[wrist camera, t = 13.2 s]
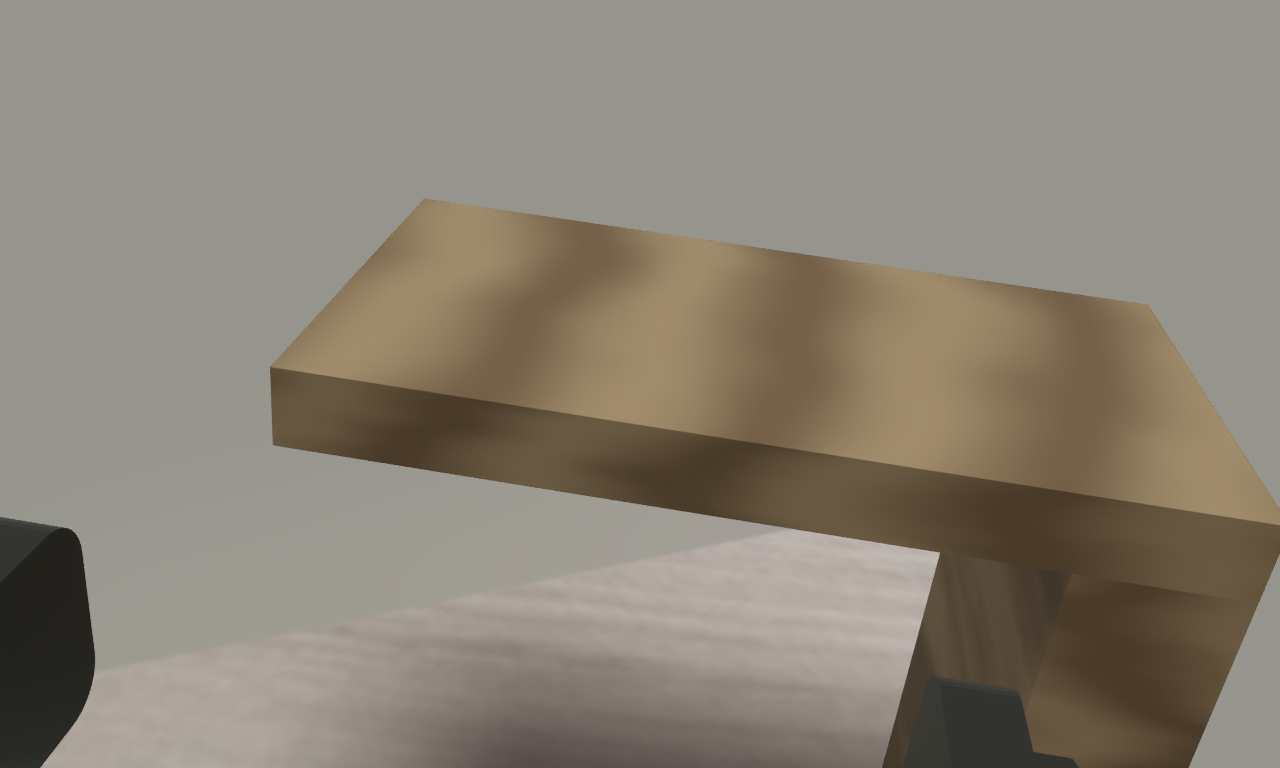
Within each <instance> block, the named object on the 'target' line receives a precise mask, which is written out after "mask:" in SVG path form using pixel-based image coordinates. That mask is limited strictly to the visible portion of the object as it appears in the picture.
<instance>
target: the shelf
mask: <svg viewBox="0 0 1280 768" xmlns="http://www.w3.org/2000/svg"><path fill="white" fill-rule="evenodd" d="M270 374H271V404H272V430H273V431H272V433H273V445H275V446H281V447H287V448H293V449H300V450H306V451H312V452H318V453H325V454H331V455H337V456H343V457H350V458H356V459H363V460H368V461H374V462H380V463H388V464H393V465H399V466H405V467H412V468H418V469H425V470H430V471H436V472H443V473H449V474H455V475H461V476H468V477H474V478H480V479H486V480H492V481H499V482H505V483H511V484H517V485H524V486H530V487H536V488H542V489H549V490H555V491H561V492H567V493H573V494H580V495H586V496H592V497H598V498H604V499H611V500H617V501H623V502H629V503H636V504H642V505H648V506H654V507H660V508H667V509H673V510H679V511H685V512H691V513H698V514H704V515H710V516H717V517H723V518H729V519H735V520H741V521H747V522H754V523H760V524H766V525H773V526H778V527H785V528H791V529H797V530H803V531H810V532H816V533H822V534H828V535H834V536H841V537H847V538H853V539H859V540H866V541H872V542H878V543H884V544H890V545H897V546H903V547H909V548H915V549H921V550H928V551H934V552H940V556H939V559H938V563H937V567H936V571H935V574H934V578H933V582H932V585H931V589H930V593H929V596H928V600H927V604H926V608H925V611H924V615H923V619H922V622H921V626H920V630H919V634H918V637H917V641H916V645H915V648H914V652H913V656H912V659H911V663H910V667H909V671H908V674H907V678H906V682H905V685H904V689H903V693H902V697H901V700H900V704H899V708H898V711H897V715H896V719H895V722H894V726H893V730H892V734H891V737H890V741H889V745H888V748H887V752H886V756H885V759H884V763H883V767H882V768H903V765H904V761H905V758H906V754H907V751H908V747H909V743H910V740H911V736H912V733H913V729H914V726H915V722H916V718H917V715H918V711H919V708H920V704H921V701H922V697H923V694H924V691H925V688H926V685H927V683H928V681H929V679H930V678H931V677H932V676H938V677H944V678H950V679H956V680H962V681H968V682H974V683H980V684H986V685H992V686H998V687H1004V688H1010V689H1014V690H1016V691H1017V692H1018V693H1019V695H1020V697H1021V701H1022V704H1023V709H1024V713H1025V717H1026V722H1027V726H1028V730H1029V735H1030V739H1031V743H1032V748H1033V752H1037V753H1043V754H1049V755H1055V756H1061V757H1067V758H1072V759H1073V760H1074V761H1075V763H1076V764H1077V765H1078V767H1079V768H1189V765H1190V763H1191V761H1192V758H1193V756H1194V754H1195V751H1196V749H1197V747H1198V744H1199V742H1200V739H1201V737H1202V735H1203V732H1204V730H1205V728H1206V725H1207V723H1208V721H1209V718H1210V716H1211V714H1212V711H1213V709H1214V707H1215V704H1216V702H1217V699H1218V697H1219V695H1220V693H1221V690H1222V688H1223V686H1224V683H1225V681H1226V678H1227V676H1228V674H1229V671H1230V669H1231V667H1232V664H1233V662H1234V660H1235V657H1236V655H1237V653H1238V650H1239V648H1240V645H1241V643H1242V641H1243V639H1244V636H1245V634H1246V632H1247V629H1248V626H1249V624H1250V622H1251V620H1252V617H1253V615H1254V613H1255V610H1256V608H1257V606H1258V603H1259V601H1260V599H1261V596H1262V594H1263V591H1264V589H1265V587H1266V585H1267V582H1268V580H1269V578H1270V575H1271V572H1272V571H1273V568H1274V566H1275V564H1276V561H1277V559H1278V556H1279V554H1280V509H1279V507H1278V506H1277V504H1276V503H1275V501H1274V500H1273V498H1272V496H1271V495H1270V493H1269V492H1268V490H1267V489H1266V487H1265V486H1264V484H1263V482H1262V481H1261V479H1260V478H1259V476H1258V475H1257V473H1256V472H1255V470H1254V468H1253V467H1252V465H1251V464H1250V462H1249V461H1248V459H1247V458H1246V456H1245V454H1244V453H1243V451H1242V450H1241V448H1240V447H1239V445H1238V444H1237V442H1236V441H1235V439H1234V437H1233V436H1232V434H1231V433H1230V431H1229V430H1228V428H1227V427H1226V425H1225V423H1224V422H1223V420H1222V419H1221V417H1220V416H1219V414H1218V413H1217V411H1216V410H1215V408H1214V406H1213V405H1212V403H1211V402H1210V400H1209V399H1208V397H1207V396H1206V394H1205V392H1204V391H1203V389H1202V388H1201V386H1200V385H1199V383H1198V381H1197V380H1196V378H1195V377H1194V375H1193V374H1192V372H1191V371H1190V369H1189V368H1188V366H1187V365H1186V363H1185V361H1184V360H1183V358H1182V357H1181V355H1180V354H1179V352H1178V350H1177V349H1176V347H1175V346H1174V344H1173V343H1172V341H1171V340H1170V338H1169V336H1168V335H1167V333H1166V332H1165V330H1164V329H1163V327H1162V325H1161V324H1160V323H1159V321H1158V319H1157V318H1156V316H1155V315H1154V313H1153V312H1152V310H1151V308H1150V307H1149V305H1145V304H1139V303H1132V302H1125V301H1118V300H1111V299H1105V298H1098V297H1091V296H1084V295H1077V294H1071V293H1064V292H1056V291H1050V290H1043V289H1037V288H1030V287H1023V286H1016V285H1009V284H1002V283H995V282H989V281H982V280H975V279H968V278H961V277H955V276H948V275H941V274H933V273H927V272H921V271H913V270H907V269H900V268H893V267H886V266H879V265H873V264H866V263H859V262H852V261H846V260H839V259H832V258H825V257H818V256H812V255H805V254H797V253H791V252H784V251H777V250H771V249H764V248H756V247H750V246H743V245H736V244H730V243H723V242H716V241H709V240H702V239H695V238H689V237H682V236H675V235H668V234H662V233H654V232H648V231H641V230H634V229H627V228H621V227H614V226H607V225H600V224H593V223H586V222H580V221H573V220H566V219H559V218H552V217H546V216H539V215H532V214H525V213H518V212H512V211H505V210H498V209H491V208H484V207H478V206H471V205H464V204H457V203H449V202H443V201H437V200H430V199H424V200H423V201H422V202H421V203H420V204H419V205H418V206H417V207H416V209H414V210H413V212H412V213H411V214H410V215H409V216H408V217H407V218H406V219H405V220H404V221H403V222H402V224H401V225H400V226H399V227H398V228H397V229H396V230H395V231H394V232H393V234H391V236H390V237H389V238H388V239H387V240H386V241H385V242H384V243H383V244H382V246H380V248H379V249H378V250H377V251H376V252H375V253H374V254H373V255H372V256H371V258H370V259H369V260H368V261H367V262H366V263H365V264H364V265H363V266H362V267H361V268H360V269H359V271H358V272H357V273H356V274H355V275H354V276H353V277H352V278H351V279H350V280H349V281H348V283H347V284H346V285H345V286H344V287H343V288H342V289H341V290H340V291H339V292H338V294H337V295H336V296H335V297H334V298H333V299H332V300H331V301H330V302H329V303H328V304H327V305H326V307H325V308H324V309H323V310H322V311H321V312H320V313H319V314H318V315H317V316H316V317H315V319H314V320H313V321H312V322H311V323H310V324H309V325H308V326H307V327H306V328H305V329H304V331H303V332H302V333H301V334H300V335H299V336H298V337H297V338H296V339H295V341H294V342H293V343H292V344H291V345H290V346H289V347H288V348H287V349H286V350H285V351H284V352H283V353H282V355H281V356H280V357H279V358H278V359H277V360H276V361H275V362H274V363H273V364H272V365H271V367H270Z"/></svg>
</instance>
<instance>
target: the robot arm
mask: <svg viewBox="0 0 1280 768" xmlns="http://www.w3.org/2000/svg"><path fill="white" fill-rule="evenodd" d="M94 669H95V651H94V643H93V635H92V627H91V619H90V611H89V603H88V595H87V587H86V579H85V571H84V563H83V555H82V549H81V544H80V541H79V539H78V537H77V535H76V534H75V533H74V532H73V531H72V530H70V529H68V528H62V527H57V526H50V525H44V524H38V523H32V522H26V521H21V520H15V519H9V518H3V517H0V768H40V767H41V766H42V765H43V763H44V762H45V761H46V760H47V758H48V757H49V756H50V754H51V753H52V752H53V751H54V749H55V748H56V747H57V745H58V744H59V743H60V741H61V740H62V739H63V738H64V736H65V735H66V734H67V732H68V731H69V730H70V729H71V727H72V726H73V725H74V723H75V722H76V720H77V719H78V717H79V715H80V714H81V712H82V710H83V708H84V705H85V703H86V701H87V698H88V695H89V692H90V689H91V686H92V681H93V677H94ZM903 768H1079V767H1078V765H1077V764H1076V763H1075V761H1074V760H1073V759H1072V758H1067V757H1061V756H1055V755H1049V754H1043V753H1037V752H1033V748H1032V743H1031V739H1030V735H1029V730H1028V726H1027V722H1026V717H1025V713H1024V709H1023V704H1022V701H1021V697H1020V695H1019V693H1018V692H1017V691H1016V690H1014V689H1010V688H1004V687H998V686H992V685H986V684H980V683H974V682H968V681H962V680H956V679H950V678H944V677H938V676H932V677H931V678H930V679H929V681H928V683H927V685H926V688H925V691H924V694H923V697H922V701H921V704H920V708H919V711H918V715H917V718H916V722H915V726H914V729H913V733H912V736H911V740H910V743H909V747H908V751H907V754H906V758H905V761H904V765H903Z"/></svg>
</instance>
